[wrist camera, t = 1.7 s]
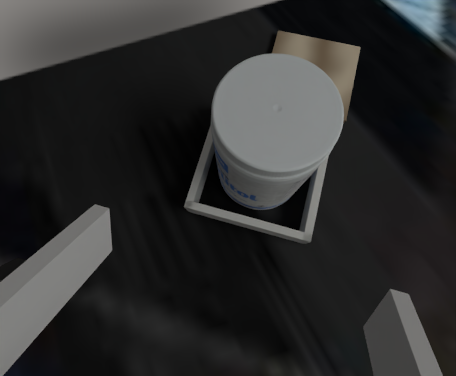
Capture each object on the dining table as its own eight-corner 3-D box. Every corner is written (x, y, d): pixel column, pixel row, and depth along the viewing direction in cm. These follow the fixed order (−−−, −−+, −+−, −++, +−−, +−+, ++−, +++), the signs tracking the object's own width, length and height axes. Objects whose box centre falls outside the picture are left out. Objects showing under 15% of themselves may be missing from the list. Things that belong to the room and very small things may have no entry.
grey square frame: (188, 211, 32) (183, 206, 29) (221, 110, 35) (219, 97, 33) (303, 243, 31) (310, 242, 28) (326, 135, 34) (334, 124, 31)
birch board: (257, 103, 36) (258, 100, 35) (277, 35, 38) (278, 30, 37) (343, 123, 34) (346, 120, 34) (357, 51, 37) (360, 47, 36)
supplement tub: (203, 181, 33) (178, 121, 19) (249, 122, 35) (256, 27, 21) (271, 228, 31) (298, 202, 17) (315, 164, 33) (372, 92, 19)
